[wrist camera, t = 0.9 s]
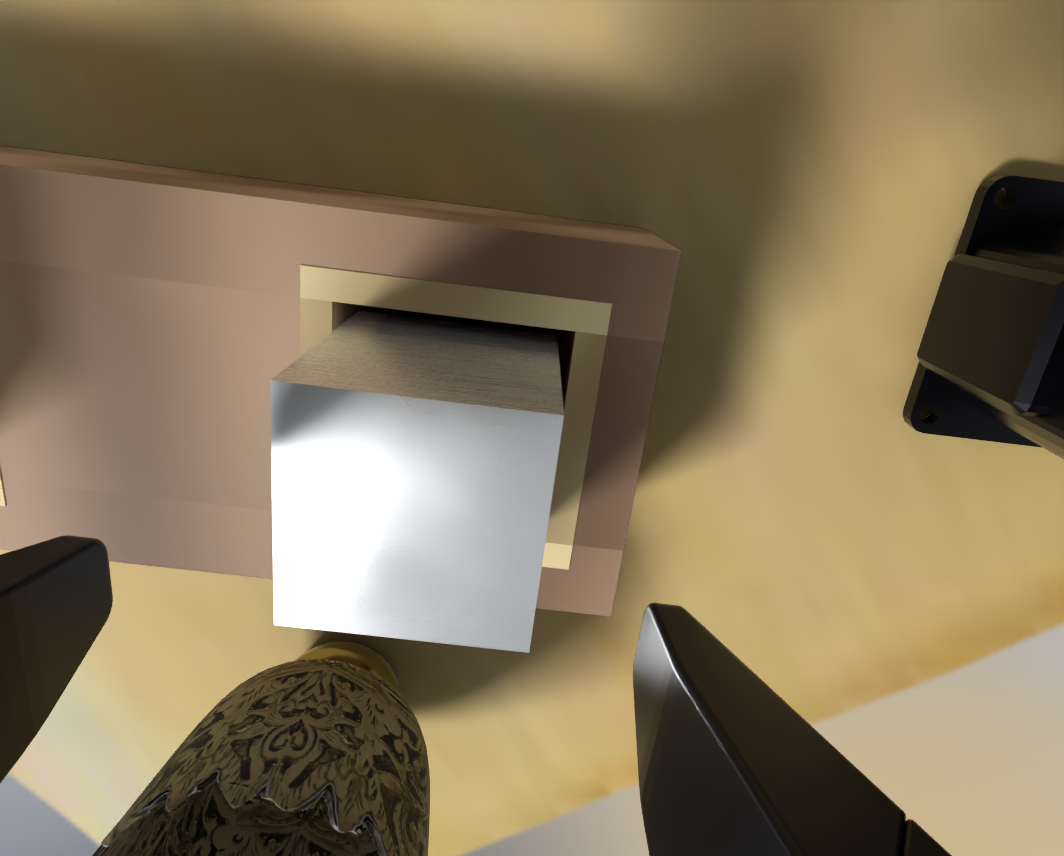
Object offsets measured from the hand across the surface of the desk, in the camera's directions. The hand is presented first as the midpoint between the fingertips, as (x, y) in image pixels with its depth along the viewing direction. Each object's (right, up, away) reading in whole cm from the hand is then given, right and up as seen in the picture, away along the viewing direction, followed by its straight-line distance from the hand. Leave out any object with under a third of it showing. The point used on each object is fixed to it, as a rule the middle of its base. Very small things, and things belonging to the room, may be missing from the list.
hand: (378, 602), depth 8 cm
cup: (-4, -6, +14) cm, 16 cm away
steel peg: (0, +2, +6) cm, 7 cm away
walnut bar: (-6, +5, +10) cm, 12 cm away
